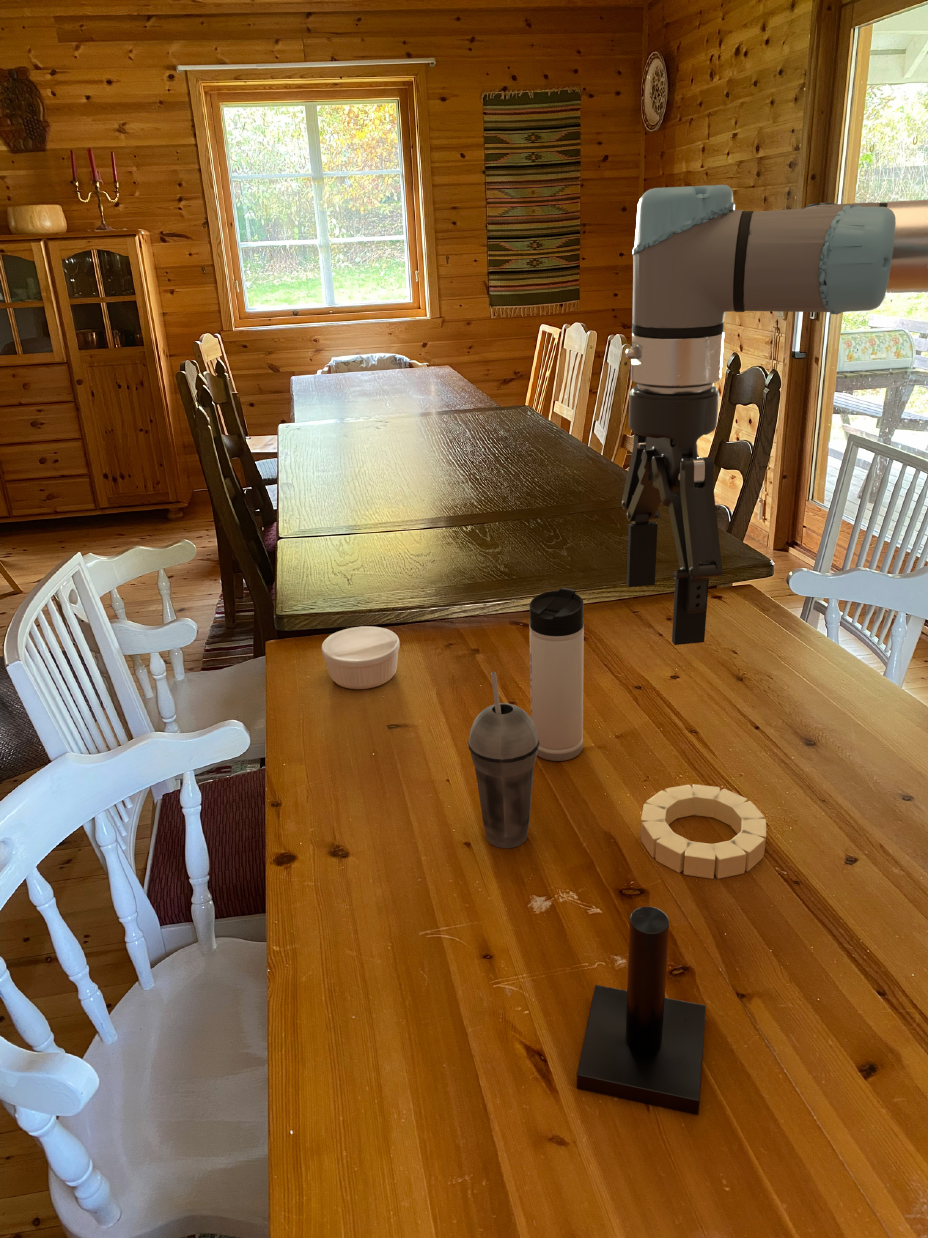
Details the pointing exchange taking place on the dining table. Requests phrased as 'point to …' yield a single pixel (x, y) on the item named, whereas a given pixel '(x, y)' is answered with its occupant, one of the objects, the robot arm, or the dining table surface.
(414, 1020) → the dining table surface
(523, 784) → the beverage cup
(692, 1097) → the stand
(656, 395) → the robot arm
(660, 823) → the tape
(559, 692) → the travel mug
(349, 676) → the ramekin
